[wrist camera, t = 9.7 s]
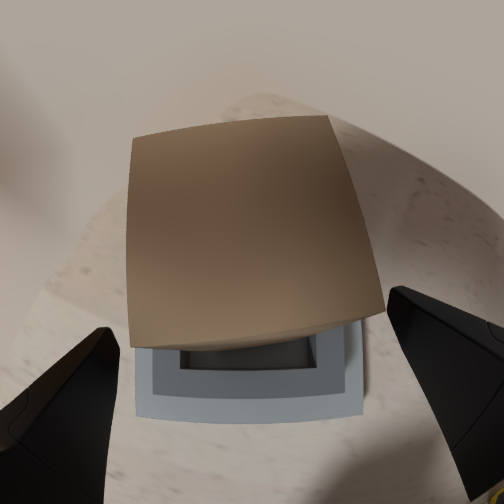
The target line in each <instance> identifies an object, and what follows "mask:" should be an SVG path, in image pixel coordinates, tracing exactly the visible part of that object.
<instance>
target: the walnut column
mask: <svg viewBox="0 0 504 504" xmlns="http://www.w3.org/2000/svg"><path fill="white" fill-rule="evenodd" d="M126 278H127V305H128V322H129V335H130V346H131V347H133V348H146V349H162V350H183V351H223V350H232V349H240V348H248V347H255V346H262V345H269V344H275V343H282V342H288V341H293V340H296V339H300V338H304V337H307V336H310V335H314V334H317V333H321V332H324V331H327V330H331V329H334V328H337V327H340V326H343V325H346V324H349V323H353V322H356V321H359V320H362V319H365V318H367V317H370V316H373V315H376V314H379V313H382V312H385V311H386V308H385V303H384V299H383V294H382V289H381V285H380V280H379V276H378V272H377V268H376V264H375V260H374V256H373V252H372V248H371V244H370V240H369V237H368V233H367V230H366V226H365V223H364V219H363V216H362V212H361V209H360V206H359V203H358V199H357V196H356V193H355V190H354V187H353V184H352V181H351V178H350V175H349V172H348V169H347V166H346V163H345V160H344V158H343V155H342V152H341V149H340V147H339V144H338V141H337V139H336V136H335V134H334V131H333V128H332V126H331V123H330V121H329V118H328V116H327V115H324V116H294V117H277V118H264V119H252V120H242V121H233V122H224V123H217V124H209V125H202V126H196V127H189V128H183V129H177V130H172V131H166V132H161V133H156V134H151V135H146V136H141V137H137V138H133V143H132V152H131V163H130V173H129V187H128V203H127V230H126Z"/></svg>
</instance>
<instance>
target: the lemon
mask: <svg viewBox="0 0 504 504" xmlns="http://www.w3.org/2000/svg"><path fill="white" fill-rule="evenodd" d="M503 491H504V487H503V488H502V489H500V490H499V491H498V492H497V493H496V495H494V496H493V497H492V498H491V501H490V504H495V503H496V500H497V497H498V495H499V494H500V493H502V492H503Z"/></svg>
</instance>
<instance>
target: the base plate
mask: <svg viewBox="0 0 504 504" xmlns="http://www.w3.org/2000/svg"><path fill="white" fill-rule="evenodd" d="M135 401H136V416H137V417H145V418H152V419H161V420H170V421H182V422H195V423H215V424H271V423H291V422H305V421H316V420H325V419H334V418H342V417H349V416H356V415H362V414H363V349H362V329H361V320H359V321H356V322H353V323H349V324H346V325H343V326H340V327H337V328H334V329H331V330H327V331H324V332H321V333H317V334H314V335H310V336H307V337H304V338H300V339H296V340H293V341H288V342H282V343H275V344H269V345H262V346H255V347H248V348H240V349H232V350H223V351H183V350H162V349H146V348H135Z"/></svg>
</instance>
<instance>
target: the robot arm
mask: <svg viewBox="0 0 504 504" xmlns="http://www.w3.org/2000/svg"><path fill="white" fill-rule="evenodd" d="M387 314H388V317H389V319H390V322H391V324H392V327H393V329H394V331H395V334H396V336H397V339H398V341H399V344H400V346H401V348H402V351H403V353H404V355H405V357H406V359H407V360H408V362H409V364H410V366H411V368H412V370H413V372H414V374H415V376H416V378H417V380H418V382H419V384H420V386H421V388H422V390H423V392H424V394H425V396H426V398H427V400H428V402H429V404H430V406H431V409H432V411H433V413H434V415H435V417H436V419H437V421H438V424H439V426H440V428H441V430H442V433H443V435H444V437H445V439H446V442H447V444H448V446H449V449H450V451H451V454H452V456H453V459H454V461H455V464H456V466H457V469H458V471H459V474H460V477H461V479H462V482H463V484H464V487H465V490H466V493H467V495H468V498H469V500H470V502H472V501H474V500H475V499H477V498H478V497H480V496H481V495H483V494H484V493H486V492H487V491H489V490H490V489H491V488H493V487H494V486H495V485H497V484H498V483H499V482H501V481H502V480H503V479H504V328H502V327H500V326H497V325H495V324H493V323H491V322H486V320H484V319H481V318H479V317H477V316H474V315H472V314H470V313H467V312H465V311H463V310H460V309H458V308H456V307H453V306H451V305H448V304H446V303H444V302H441V301H439V300H436V299H434V298H432V297H429V296H427V295H424V294H422V293H420V292H417V291H415V290H412V289H410V288H407V287H405V286H397V287H393V288H391V290H390V293H389V299H388V304H387ZM119 359H120V348H119V345H118V343H117V341H116V338H115V336H114V334H113V332H112V330H111V329H110V328H109V327H99V328H97V329H96V330H94V331H93V332H92V333H91V334H90V335H88V336H87V337H86V338H85V339H84V340H82V341H81V342H80V343H79V344H78V345H76V346H75V347H74V348H73V349H72V350H70V351H69V352H68V353H67V354H66V355H64V356H63V357H62V358H61V359H60V360H59V361H57V362H56V363H55V364H54V365H53V366H52V367H50V368H49V369H48V370H47V371H46V372H45V373H43V374H42V375H41V376H40V377H39V378H38V379H37V380H35V381H34V382H33V383H32V384H31V385H30V386H29V387H28V388H26V389H25V390H24V391H23V392H22V393H21V394H20V395H18V396H17V397H16V398H15V399H14V400H13V401H11V402H10V403H9V404H8V405H6V406H5V407H4V408H3V409H1V410H0V504H103V503H104V488H105V476H106V466H107V456H108V448H109V440H110V433H111V426H112V419H113V413H114V407H115V401H116V394H117V385H118V371H119ZM495 504H504V491H503V492H502V493H500V494H499V495H498V497H497V500H496V503H495Z"/></svg>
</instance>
